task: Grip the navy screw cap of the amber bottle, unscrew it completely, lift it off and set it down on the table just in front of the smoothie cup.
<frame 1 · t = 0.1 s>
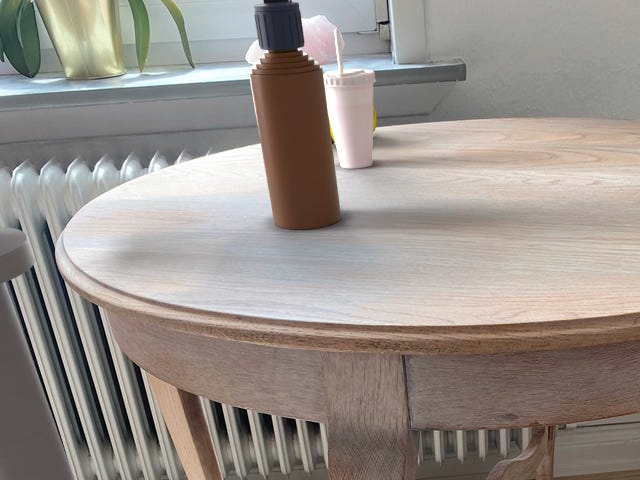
hand: (281, 19, 82), 16 cm above the table, tool pointing down, fingers open, 8 cm apart
cap: (276, 9, 75), point 18 cm above the table, screwed on, not yet turned, touching gripper
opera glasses: (347, 142, 115), on the table
bottle: (307, 219, 85), on the table
smoothie: (356, 166, 104), on the table
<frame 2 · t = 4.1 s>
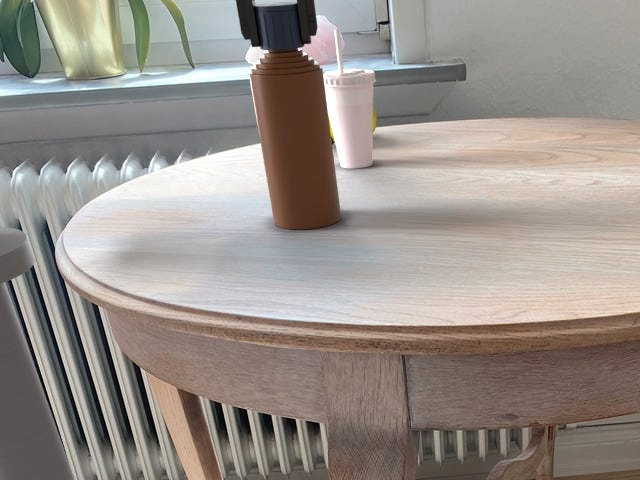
hand: (282, 43, 76), 15 cm above the table, tool pointing down, fingers closed on cap, 3 cm apart
cap: (276, 9, 75), point 18 cm above the table, screwed on, not yet turned, touching gripper
everything else where it was.
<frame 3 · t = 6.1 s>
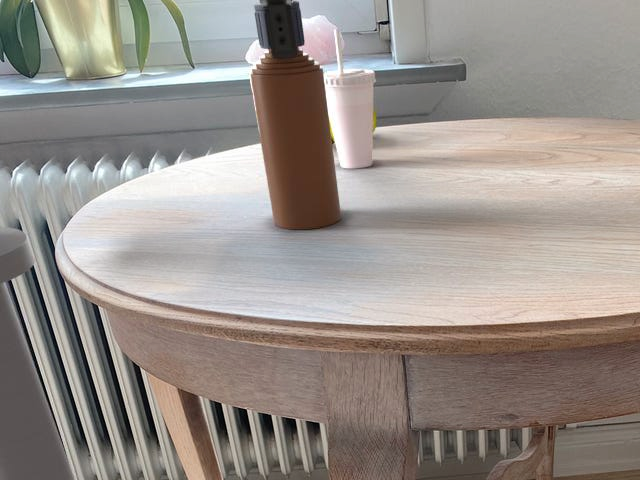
hand: (286, 53, 77), 14 cm above the table, tool pointing down, fingers closed on cap, 3 cm apart
cap: (277, 8, 75), point 18 cm above the table, turned 92° so far, risen 0.1 cm, still on its thread, touching gripper
bottle: (307, 220, 85), on the table, touching gripper
everything else where it was.
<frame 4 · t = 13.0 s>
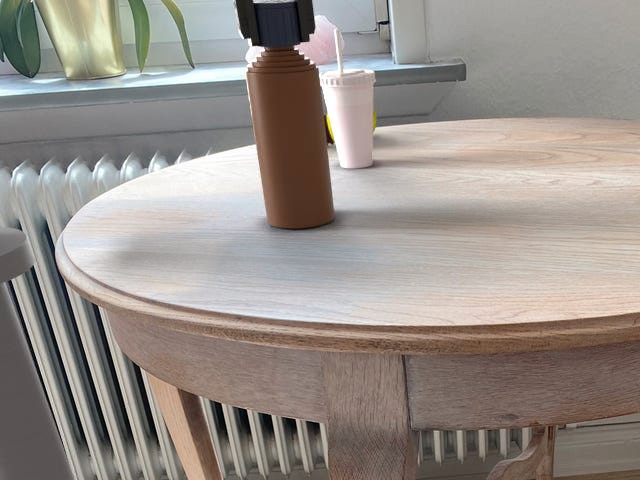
hand: (279, 42, 77), 15 cm above the table, tool pointing down, fingers closed on cap, 3 cm apart
cap: (273, 7, 75), point 18 cm above the table, turned 106° so far, risen 0.1 cm, still on its thread, touching gripper
bottle: (301, 219, 85), on the table
everything else where it was.
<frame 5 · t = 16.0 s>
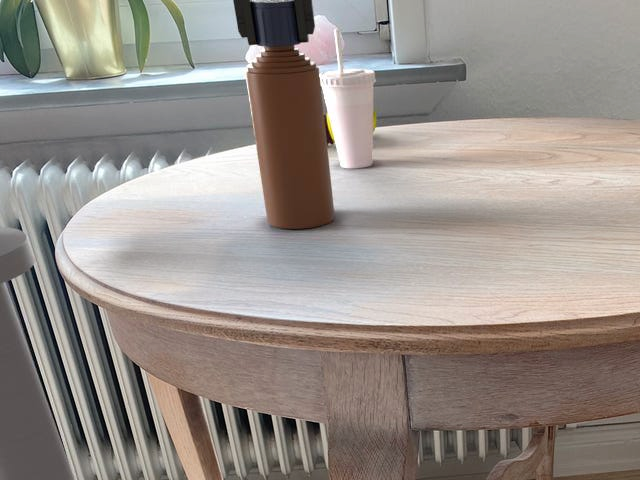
hand: (279, 41, 76), 15 cm above the table, tool pointing down, fingers closed on cap, 3 cm apart
cap: (274, 6, 75), point 18 cm above the table, turned 184° so far, risen 0.2 cm, still on its thread, touching gripper
everything else where it was.
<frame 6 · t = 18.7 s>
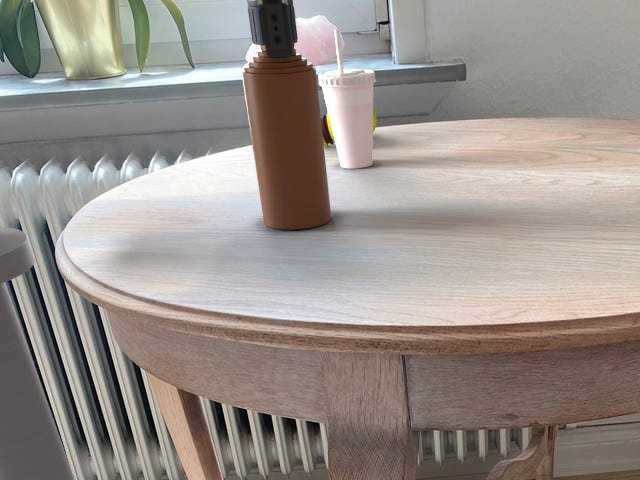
hand: (281, 53, 77), 14 cm above the table, tool pointing down, fingers closed on cap, 3 cm apart
cap: (270, 4, 75), point 18 cm above the table, turned 275° so far, risen 0.3 cm, still on its thread, touching gripper
bottle: (297, 220, 85), on the table
everything else where it was.
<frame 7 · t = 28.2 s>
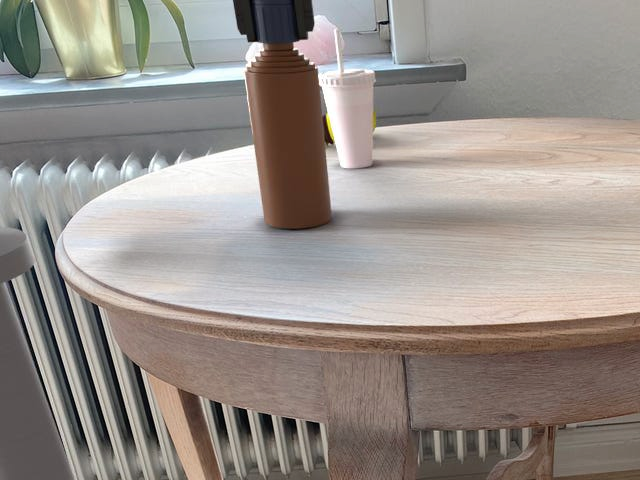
hand: (278, 39, 76), 15 cm above the table, tool pointing down, fingers closed on cap, 3 cm apart
cap: (273, 3, 75), point 18 cm above the table, turned 367° so far, risen 0.4 cm, still on its thread, touching gripper
bottle: (298, 219, 85), on the table
everything else where it was.
when the fingers open (0 cm above the table, at t = 38.7 s): cap stays where it is, point 3 cm above the table.
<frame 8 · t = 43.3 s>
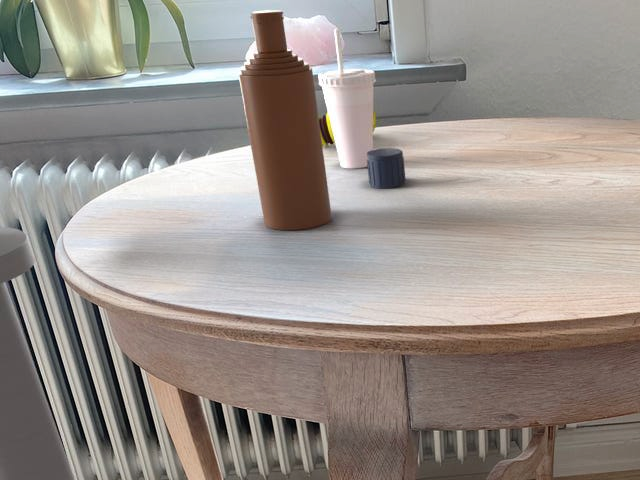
cap: (385, 156, 94), point 3 cm above the table, off its thread
everything else where it was.
at the end: cap came off its thread; cap point 2.8 cm above the table; cap inside the target area on the table beside the smoothie (1.2 cm from its centre), point 3.0 cm above the table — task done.
